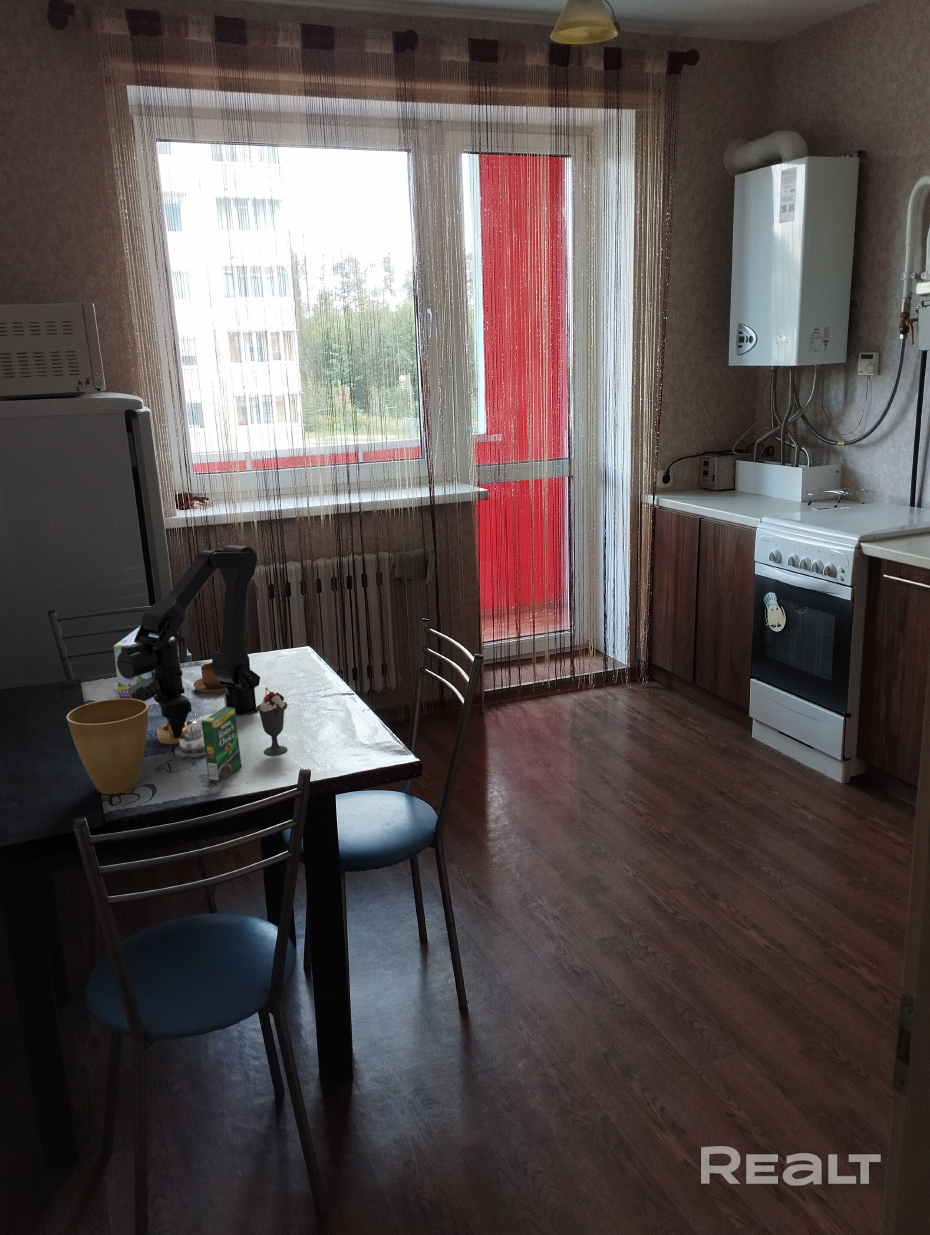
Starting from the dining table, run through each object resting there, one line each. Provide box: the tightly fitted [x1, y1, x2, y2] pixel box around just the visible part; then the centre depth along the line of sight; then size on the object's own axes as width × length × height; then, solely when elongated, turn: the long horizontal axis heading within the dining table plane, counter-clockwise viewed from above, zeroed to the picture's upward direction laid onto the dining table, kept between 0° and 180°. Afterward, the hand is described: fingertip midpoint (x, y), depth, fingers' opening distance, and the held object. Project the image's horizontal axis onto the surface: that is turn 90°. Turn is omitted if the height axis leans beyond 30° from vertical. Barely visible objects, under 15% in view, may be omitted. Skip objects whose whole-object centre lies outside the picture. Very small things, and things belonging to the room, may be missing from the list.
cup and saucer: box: [193, 662, 226, 694], centre depth 245 cm, size 12×12×6 cm
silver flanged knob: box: [174, 719, 206, 760], centre depth 205 cm, size 9×9×6 cm
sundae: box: [255, 687, 288, 756], centre depth 202 cm, size 7×7×15 cm
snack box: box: [113, 626, 159, 699], centre depth 245 cm, size 21×6×15 cm, turn 179°
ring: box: [156, 721, 188, 745], centre depth 213 cm, size 7×7×2 cm
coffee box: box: [201, 706, 243, 783], centre depth 191 cm, size 8×3×13 cm, turn 159°
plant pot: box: [66, 698, 149, 795], centre depth 188 cm, size 15×15×16 cm
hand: (174, 732), depth 213 cm, fingers closed on ring, 7 cm apart
